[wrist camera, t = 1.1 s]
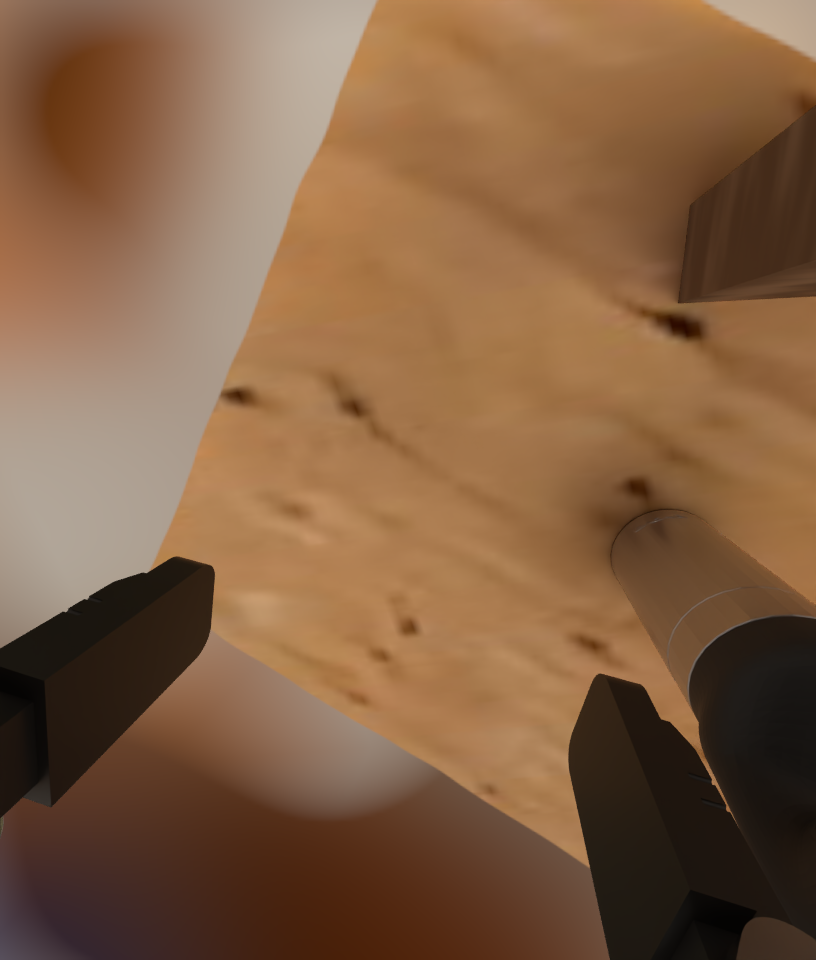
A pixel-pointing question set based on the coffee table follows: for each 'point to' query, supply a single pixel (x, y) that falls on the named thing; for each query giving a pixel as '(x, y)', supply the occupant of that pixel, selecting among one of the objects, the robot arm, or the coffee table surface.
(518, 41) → the coffee table surface
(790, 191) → the post
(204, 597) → the robot arm
